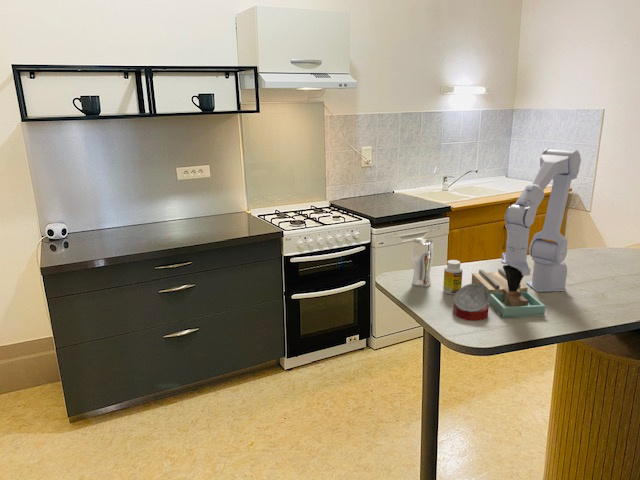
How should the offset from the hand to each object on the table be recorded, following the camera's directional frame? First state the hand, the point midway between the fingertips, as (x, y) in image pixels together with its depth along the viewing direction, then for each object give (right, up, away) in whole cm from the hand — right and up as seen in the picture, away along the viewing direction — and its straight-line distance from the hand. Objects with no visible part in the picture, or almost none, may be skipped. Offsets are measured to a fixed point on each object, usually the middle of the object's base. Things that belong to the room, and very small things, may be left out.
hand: (512, 289), depth 145 cm
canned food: (-14, -7, -3) cm, 15 cm away
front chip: (0, -2, -3) cm, 4 cm away
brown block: (0, -2, -1) cm, 3 cm away
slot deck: (0, -2, +11) cm, 11 cm away
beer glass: (-23, 0, +19) cm, 30 cm away
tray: (0, -5, -1) cm, 6 cm away
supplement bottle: (-15, -2, +12) cm, 19 cm away
